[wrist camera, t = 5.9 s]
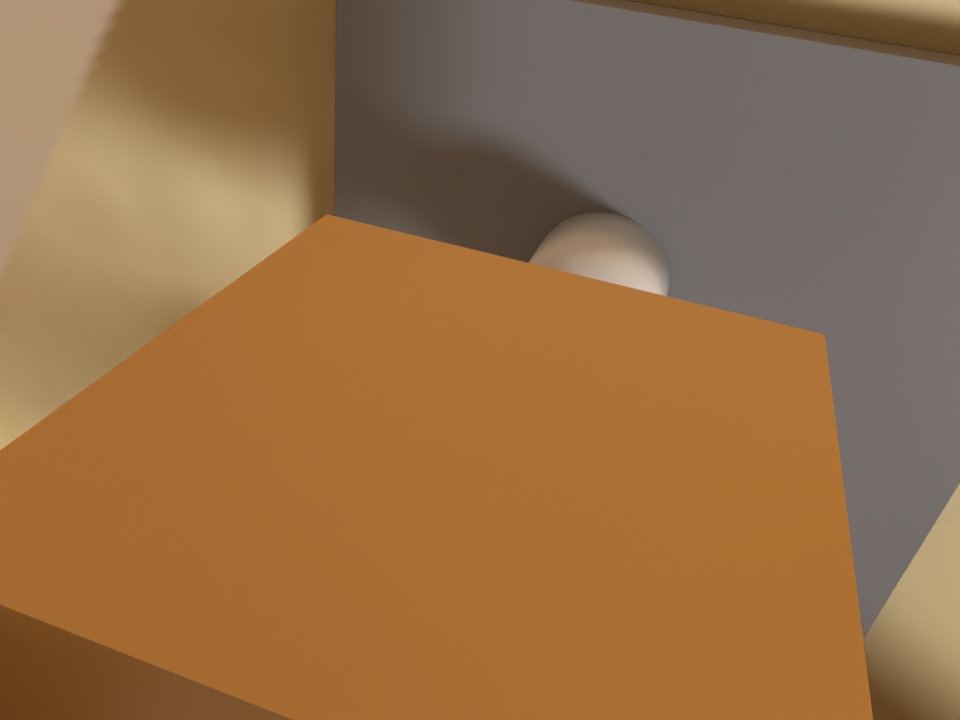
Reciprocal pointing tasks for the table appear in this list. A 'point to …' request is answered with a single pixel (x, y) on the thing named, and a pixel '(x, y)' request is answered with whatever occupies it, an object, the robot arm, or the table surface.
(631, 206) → the board
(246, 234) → the table surface
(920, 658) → the table surface
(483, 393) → the matte orange cube
